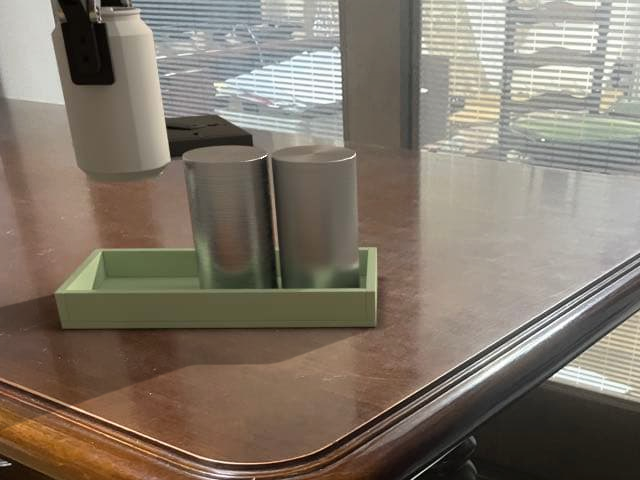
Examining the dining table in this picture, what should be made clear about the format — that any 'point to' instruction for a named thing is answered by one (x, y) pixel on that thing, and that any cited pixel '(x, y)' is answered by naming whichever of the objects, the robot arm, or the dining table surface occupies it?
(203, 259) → the can
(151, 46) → the can
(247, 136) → the picture frame
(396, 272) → the dining table surface
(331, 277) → the can
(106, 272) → the tray
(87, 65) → the robot arm
